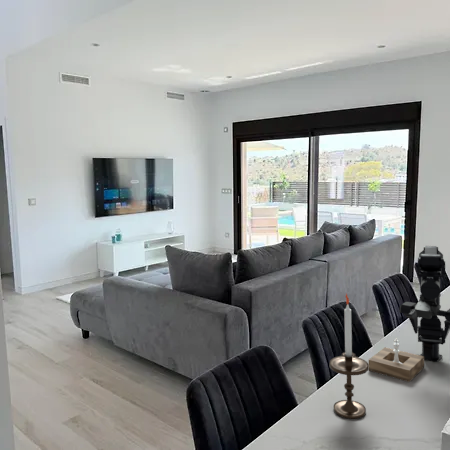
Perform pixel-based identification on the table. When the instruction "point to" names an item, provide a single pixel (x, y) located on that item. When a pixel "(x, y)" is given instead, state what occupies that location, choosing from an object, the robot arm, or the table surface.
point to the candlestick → (349, 373)
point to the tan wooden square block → (396, 364)
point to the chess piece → (396, 351)
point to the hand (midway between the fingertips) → (430, 336)
